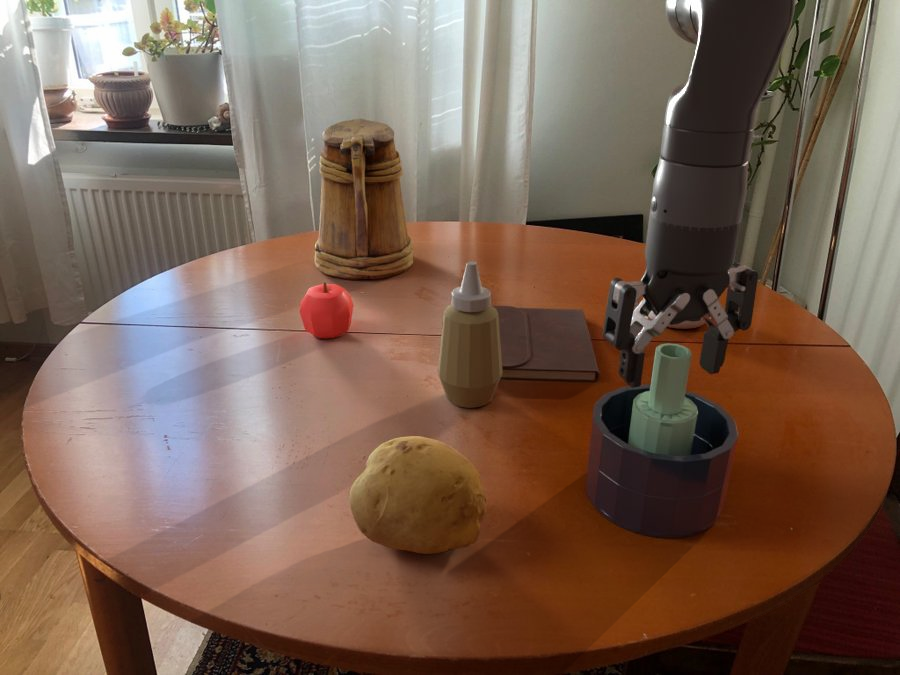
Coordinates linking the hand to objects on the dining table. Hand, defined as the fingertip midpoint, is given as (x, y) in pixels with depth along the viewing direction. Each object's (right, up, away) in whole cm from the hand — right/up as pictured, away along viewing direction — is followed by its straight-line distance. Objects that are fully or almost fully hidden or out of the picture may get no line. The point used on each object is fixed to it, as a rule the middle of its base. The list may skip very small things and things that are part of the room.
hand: (670, 376), depth 70 cm
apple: (-39, +4, +40) cm, 56 cm away
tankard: (-36, +16, +64) cm, 76 cm away
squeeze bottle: (-19, -4, +23) cm, 30 cm away
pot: (0, -12, +6) cm, 14 cm away
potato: (-24, -15, +1) cm, 28 cm away
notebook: (-8, +2, +36) cm, 37 cm away
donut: (+14, +7, +45) cm, 47 cm away
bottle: (0, -12, +6) cm, 13 cm away
